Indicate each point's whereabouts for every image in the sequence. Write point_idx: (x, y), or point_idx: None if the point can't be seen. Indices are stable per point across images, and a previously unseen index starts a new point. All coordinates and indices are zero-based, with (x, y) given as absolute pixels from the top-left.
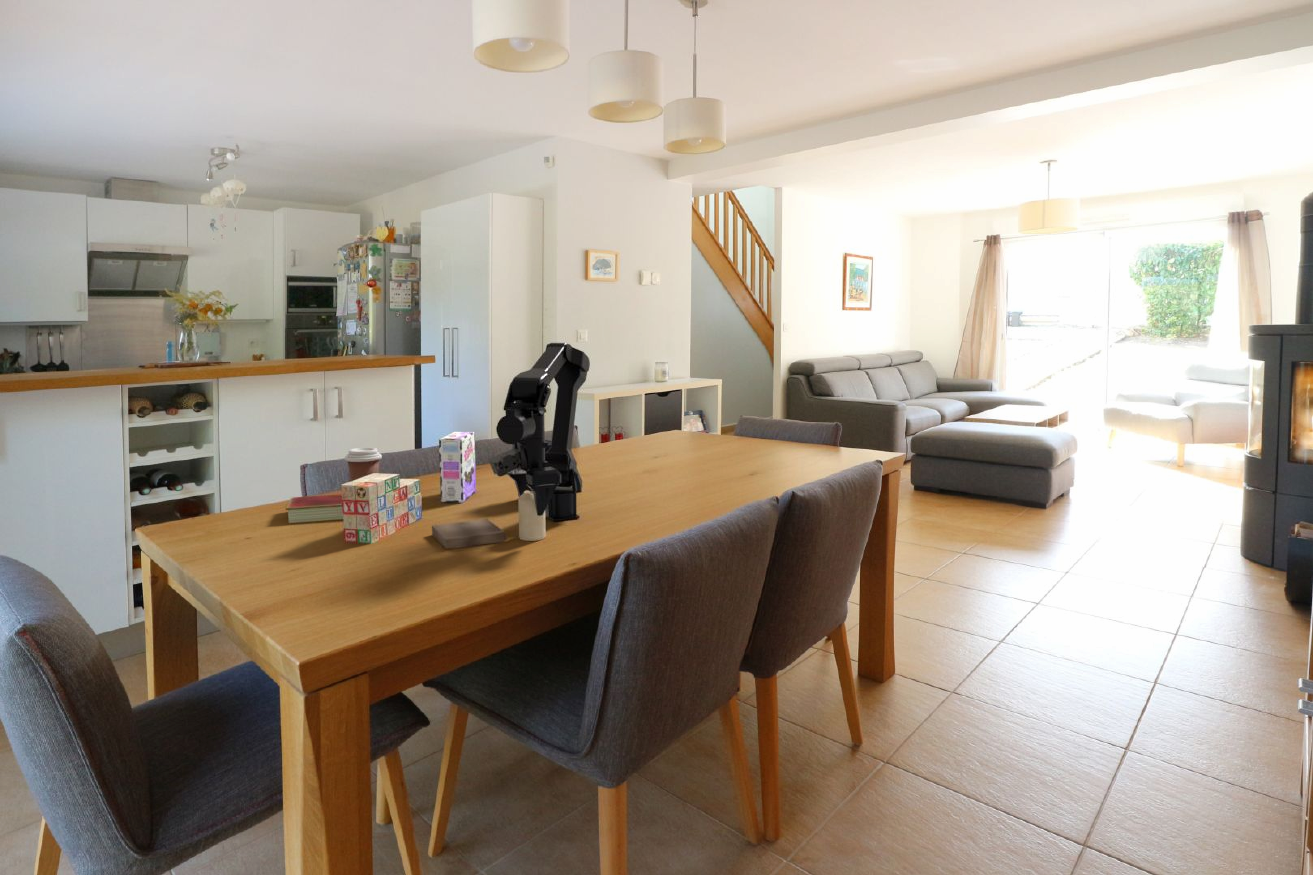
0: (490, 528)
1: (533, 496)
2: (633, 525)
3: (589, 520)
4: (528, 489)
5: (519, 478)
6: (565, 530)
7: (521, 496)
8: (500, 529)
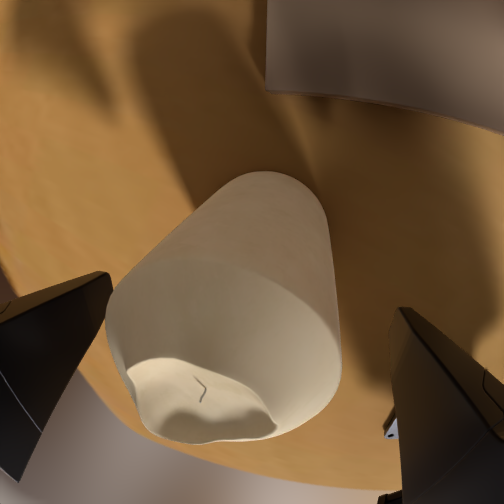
0: (380, 54)
1: (119, 364)
2: (239, 464)
3: (348, 440)
4: (411, 438)
5: (487, 495)
6: None
7: (201, 302)
8: (331, 90)
